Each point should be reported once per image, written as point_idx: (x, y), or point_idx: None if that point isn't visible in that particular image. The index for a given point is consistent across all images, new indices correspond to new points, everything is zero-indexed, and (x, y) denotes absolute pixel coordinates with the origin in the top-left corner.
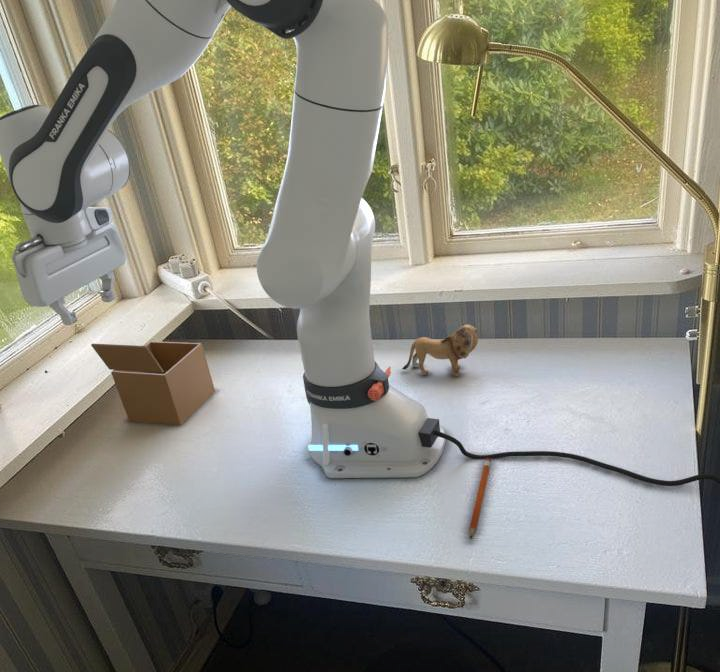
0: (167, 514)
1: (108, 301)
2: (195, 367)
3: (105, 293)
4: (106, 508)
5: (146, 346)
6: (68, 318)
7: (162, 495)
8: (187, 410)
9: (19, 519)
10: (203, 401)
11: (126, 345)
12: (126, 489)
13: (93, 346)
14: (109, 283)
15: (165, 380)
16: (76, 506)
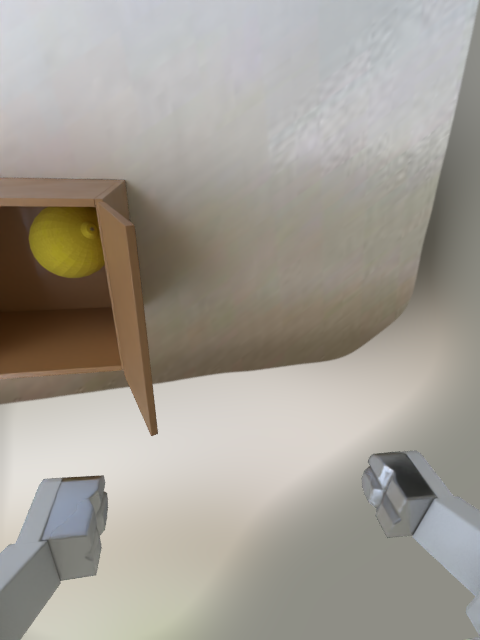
0: (428, 9)
1: (102, 482)
2: None
3: (92, 536)
4: (399, 167)
5: (129, 226)
6: (438, 479)
7: (368, 63)
8: (82, 180)
9: (411, 294)
10: (13, 178)
11: (138, 319)
12: (348, 163)
13: (156, 425)
14: (3, 601)
15: (106, 200)
16: (389, 227)
